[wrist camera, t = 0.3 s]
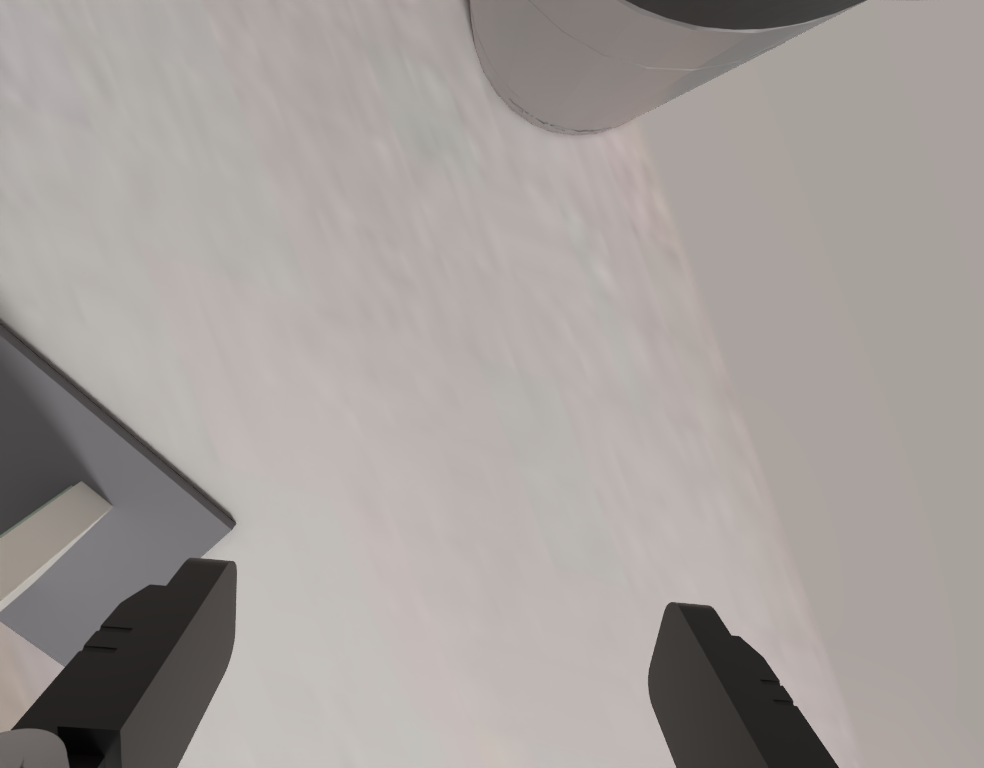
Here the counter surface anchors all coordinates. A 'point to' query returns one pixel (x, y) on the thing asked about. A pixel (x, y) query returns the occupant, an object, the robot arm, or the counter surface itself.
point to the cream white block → (46, 538)
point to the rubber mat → (111, 474)
